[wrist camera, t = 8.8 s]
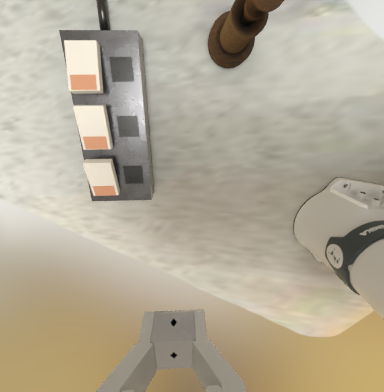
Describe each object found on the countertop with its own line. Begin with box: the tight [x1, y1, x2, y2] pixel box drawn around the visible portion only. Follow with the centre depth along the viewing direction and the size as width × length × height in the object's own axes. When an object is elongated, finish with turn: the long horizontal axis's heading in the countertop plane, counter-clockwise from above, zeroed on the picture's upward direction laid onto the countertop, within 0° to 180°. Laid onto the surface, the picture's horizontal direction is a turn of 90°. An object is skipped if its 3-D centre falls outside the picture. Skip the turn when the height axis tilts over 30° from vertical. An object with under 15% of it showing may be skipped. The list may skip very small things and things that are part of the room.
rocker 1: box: [64, 40, 103, 94], centre depth 29 cm, size 4×6×1 cm, turn 1°
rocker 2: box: [82, 159, 120, 196], centre depth 34 cm, size 4×6×1 cm, turn 1°
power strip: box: [59, 0, 154, 201], centre depth 34 cm, size 10×30×5 cm, turn 1°
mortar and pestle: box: [208, 0, 284, 68], centre depth 25 cm, size 7×6×18 cm
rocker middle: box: [73, 105, 113, 150], centre depth 32 cm, size 4×6×1 cm, turn 1°
